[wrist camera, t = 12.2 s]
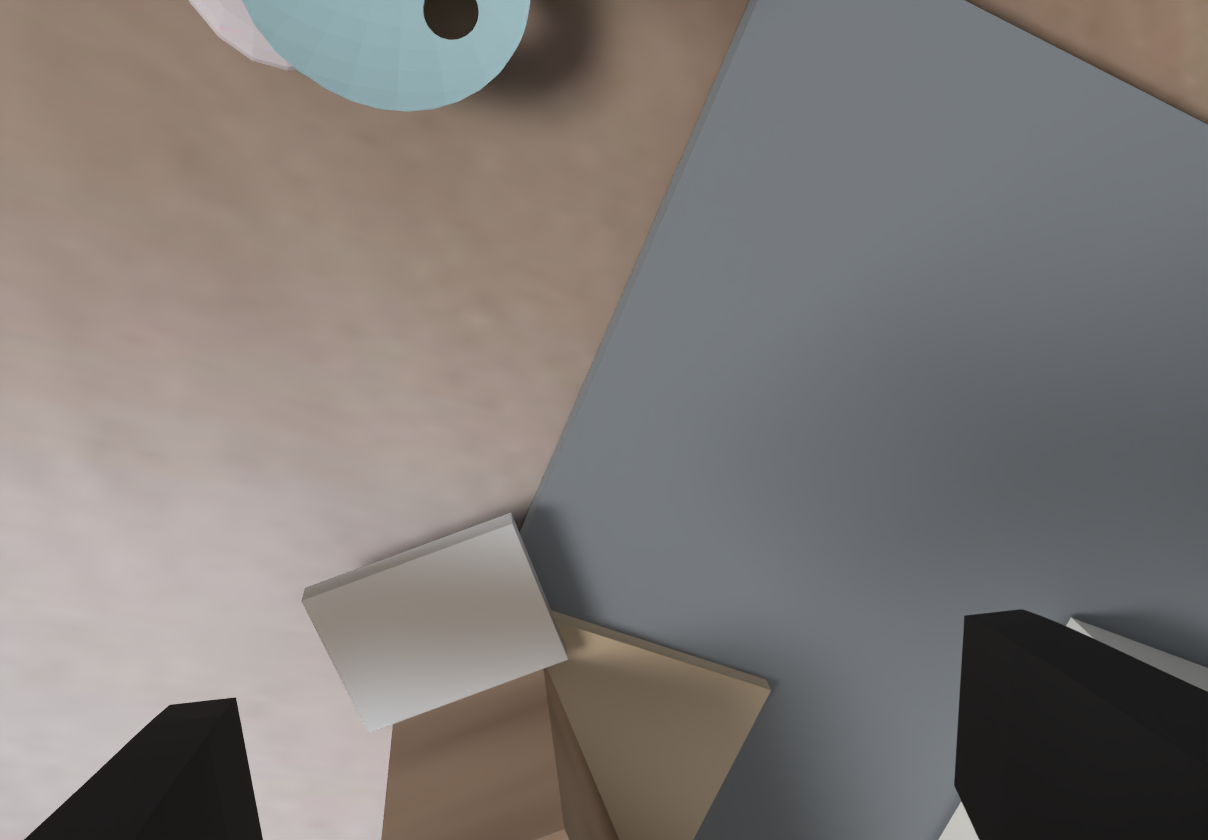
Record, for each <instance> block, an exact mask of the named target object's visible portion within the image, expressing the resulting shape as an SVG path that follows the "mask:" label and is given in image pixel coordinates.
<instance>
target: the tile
mask: <svg viewBox="0 0 1208 840" xmlns="http://www.w3.org/2000/svg"><path fill="white" fill-rule="evenodd" d="M1066 626H1067V627H1069V628H1071V629H1074V630H1076V631H1078V632H1080V633H1082V634H1085V635H1087V636H1089V637H1091V638H1094V639H1096V640H1098V641H1100V642H1102V643H1104V644H1106V645H1109V646H1111V647H1113V648H1115V649H1117V650H1119V651H1121V652H1124V653H1126V654H1128V655H1130V656H1132V657H1134V658H1136V659H1138V660H1141V661H1143V662H1145V663H1147V664H1149V665H1151V666H1153V667H1156V668H1158V669H1160V670H1162V671H1164V672H1166V673H1168V674H1171V675H1173V676H1175V677H1177V678H1179V679H1181V680H1183V681H1186V682H1188V683H1190V684H1192V685H1194V686H1197V687H1199V688H1201V689H1203V690H1205V691H1207V692H1208V668H1207V667H1204V666H1201V665H1199V664H1196V663H1193V662H1190V661H1188V660H1185V659H1182V658H1180V657H1177V656H1174V655H1171V654H1169V653H1166V652H1163V651H1161V650H1158V649H1155V648H1153V647H1150V646H1147V645H1144V644H1142V643H1139V642H1136V641H1134V640H1131V639H1128V638H1125V637H1123V636H1120V635H1117V634H1115V633H1112V632H1109V631H1107V630H1104V629H1101V628H1098V627H1096V626H1093V625H1090V624H1088V623H1085V622H1082V621H1079V620H1077V619H1074V618H1070V620H1069V622H1068V623H1067V625H1066ZM938 840H979V838H978V836H977V834H976V832H975V830H974V828H973V825H972V823H971V821H970V819H969V817H968V815H967V812H966V810H965V808H964V806H963V804H962V801H961V803H960V804H959V806H958V808H957V809H956V811H955V813H954V814H953V816H952V818H951V819H950V821H949V823H948V824H947V826H946V828H945V829H944V831H943V833H942V834H941V836H940V838H939V839H938Z"/></svg>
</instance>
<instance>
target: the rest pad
mask: <svg viewBox="0 0 1208 840" xmlns="http://www.w3.org/2000/svg"><path fill="white" fill-rule="evenodd" d="M551 611H552V610H551ZM552 613H553V616H554V618H555V621H556V623H557V626H558V628H559V630H560V633H561V635H562V638H563V640H564V643H565V645H566V650H567V655H568V660H566V661H563V662H560V663H557V664H555V665H552V666H549V667H547V669H548V672H549V674H550V676H551V679H552V681H553V684H554V686H555V688H556V691H557V693H558V695H559V698H560V700H561V703H562V705H563V707H564V710H565V712H566V714H567V717H568V719H569V722H570V724H571V726H572V729H573V731H574V733H575V736H576V738H577V741H578V743H579V745H580V748H581V750H582V752H583V755H584V757H585V760H586V762H587V764H588V767H589V769H590V771H591V774H592V776H593V779H594V781H595V783H596V786H597V788H598V790H599V793H600V795H601V798H602V800H603V802H604V805H605V807H606V809H607V812H608V814H609V817H610V819H611V821H612V824H613V826H614V828H615V831H616V833H617V836H618V838H619V840H693V839H694V837H695V835H696V833H697V831H698V830H699V828H700V826H701V824H702V822H703V820H704V818H705V816H706V814H707V812H708V810H709V808H710V806H711V805H712V803H713V801H714V799H715V797H716V795H717V793H718V791H719V789H720V787H721V785H722V783H723V782H724V780H725V778H726V776H727V774H728V772H729V770H730V768H731V766H732V764H733V762H734V760H735V758H736V757H737V755H738V753H739V751H740V749H741V747H742V745H743V743H744V741H745V739H746V737H747V735H748V734H749V732H750V730H751V728H752V726H753V724H754V722H755V720H756V718H757V716H758V714H759V712H760V711H761V709H762V707H763V705H764V703H765V701H766V699H767V697H768V695H769V693H770V691H771V689H770V687H769V685H768V683H767V681H766V679H763V678H760V677H757V676H754V675H751V674H748V673H745V672H742V671H739V670H735V669H732V668H729V667H726V666H723V665H720V664H717V663H714V662H711V661H707V660H704V659H701V658H698V657H695V656H692V655H689V654H686V653H683V652H680V651H676V650H673V649H670V648H667V647H664V646H661V645H658V644H655V643H652V642H648V641H645V640H642V639H639V638H636V637H633V636H630V635H627V634H624V633H620V632H617V631H614V630H611V629H608V628H605V627H602V626H599V625H596V624H593V623H589V622H586V621H583V620H580V619H577V618H574V617H571V616H568V615H565V614H561V613H558V612H555V611H552Z"/></svg>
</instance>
